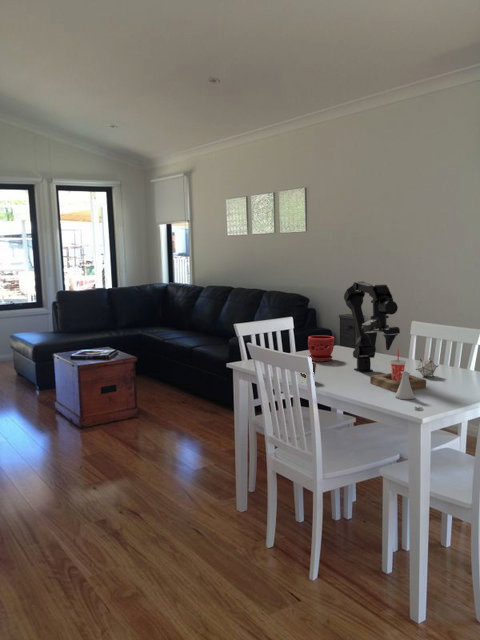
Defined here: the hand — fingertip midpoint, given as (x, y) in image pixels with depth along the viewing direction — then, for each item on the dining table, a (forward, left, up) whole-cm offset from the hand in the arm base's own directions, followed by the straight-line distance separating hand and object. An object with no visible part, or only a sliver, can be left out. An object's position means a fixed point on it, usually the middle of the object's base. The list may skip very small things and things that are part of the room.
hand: (380, 349), depth 253 cm
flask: (+30, -10, -13) cm, 34 cm away
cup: (-9, -31, -13) cm, 35 cm away
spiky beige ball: (+7, +20, -13) cm, 25 cm away
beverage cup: (+13, -1, -12) cm, 18 cm away
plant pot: (-45, -3, -13) cm, 47 cm away
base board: (+14, -1, -13) cm, 19 cm away
